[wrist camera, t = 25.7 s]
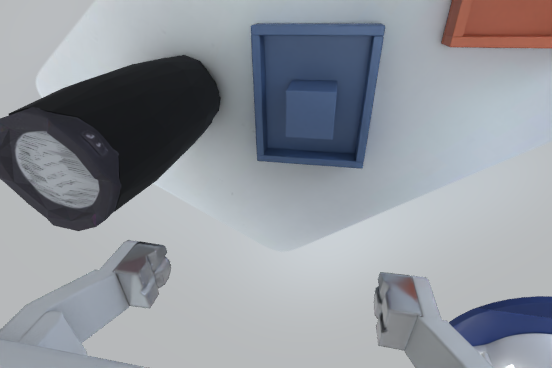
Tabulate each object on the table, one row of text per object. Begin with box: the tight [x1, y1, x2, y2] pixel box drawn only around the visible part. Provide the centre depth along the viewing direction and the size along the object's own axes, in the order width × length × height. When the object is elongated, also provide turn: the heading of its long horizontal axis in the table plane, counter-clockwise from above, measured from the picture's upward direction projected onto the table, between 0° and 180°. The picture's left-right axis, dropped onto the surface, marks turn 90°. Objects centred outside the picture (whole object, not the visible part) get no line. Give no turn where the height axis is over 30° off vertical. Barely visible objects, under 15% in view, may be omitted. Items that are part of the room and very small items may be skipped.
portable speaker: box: [0, 55, 220, 231], centre depth 25 cm, size 9×9×20 cm
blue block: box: [286, 79, 337, 140], centre depth 29 cm, size 4×4×4 cm
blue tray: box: [251, 24, 385, 168], centre depth 30 cm, size 14×12×2 cm
